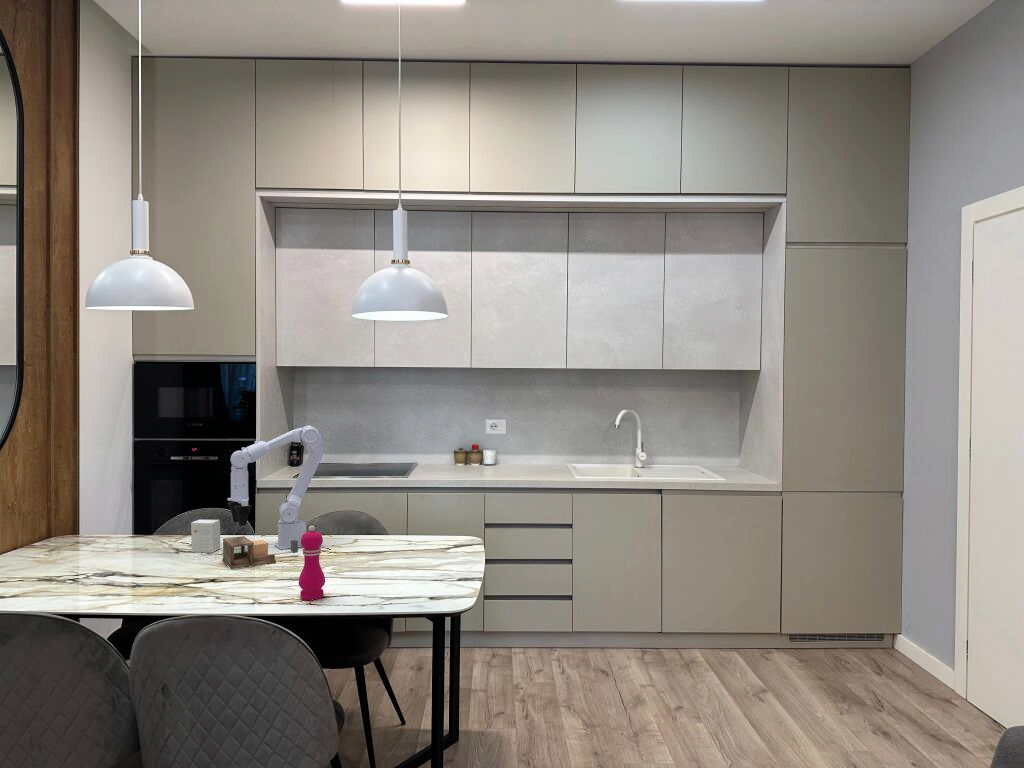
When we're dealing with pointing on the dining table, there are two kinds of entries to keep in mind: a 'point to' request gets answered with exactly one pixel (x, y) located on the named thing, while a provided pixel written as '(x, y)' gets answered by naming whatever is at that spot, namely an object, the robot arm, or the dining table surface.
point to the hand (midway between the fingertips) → (239, 523)
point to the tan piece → (262, 548)
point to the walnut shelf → (242, 554)
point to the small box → (205, 535)
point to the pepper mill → (311, 566)
